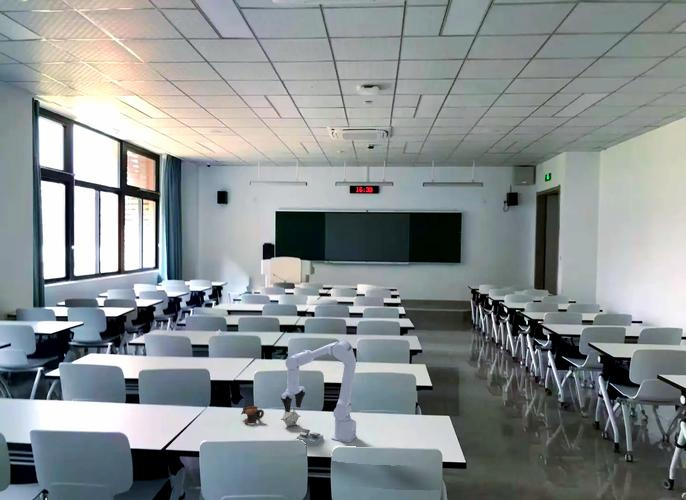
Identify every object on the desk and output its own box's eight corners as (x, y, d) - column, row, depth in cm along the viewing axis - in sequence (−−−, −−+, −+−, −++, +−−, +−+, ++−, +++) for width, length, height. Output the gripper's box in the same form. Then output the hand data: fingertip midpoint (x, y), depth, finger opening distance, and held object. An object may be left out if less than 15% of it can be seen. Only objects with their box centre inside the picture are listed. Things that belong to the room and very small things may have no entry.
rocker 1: (309, 431, 218) (309, 429, 218) (306, 437, 215) (305, 435, 215) (303, 430, 219) (303, 428, 219) (300, 435, 216) (299, 433, 216)
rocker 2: (319, 435, 217) (320, 433, 217) (316, 436, 213) (316, 434, 213) (313, 434, 218) (314, 432, 218) (310, 435, 214) (310, 433, 214)
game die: (286, 434, 232) (274, 417, 232) (295, 422, 239) (283, 406, 239) (298, 429, 227) (285, 412, 226) (307, 417, 234) (294, 401, 233)
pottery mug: (238, 425, 234) (237, 407, 237) (246, 427, 242) (246, 410, 246) (261, 421, 232) (260, 403, 235) (269, 422, 240) (267, 406, 244)
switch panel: (323, 439, 218) (323, 434, 218) (316, 446, 211) (316, 440, 211) (303, 435, 222) (303, 430, 222) (296, 442, 215) (296, 436, 215)
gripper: (296, 375, 235) (296, 403, 236) (276, 383, 224) (276, 412, 224) (307, 378, 231) (307, 406, 232) (288, 386, 220) (287, 415, 220)
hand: (293, 409), depth 228 cm, fingers open, 7 cm apart
